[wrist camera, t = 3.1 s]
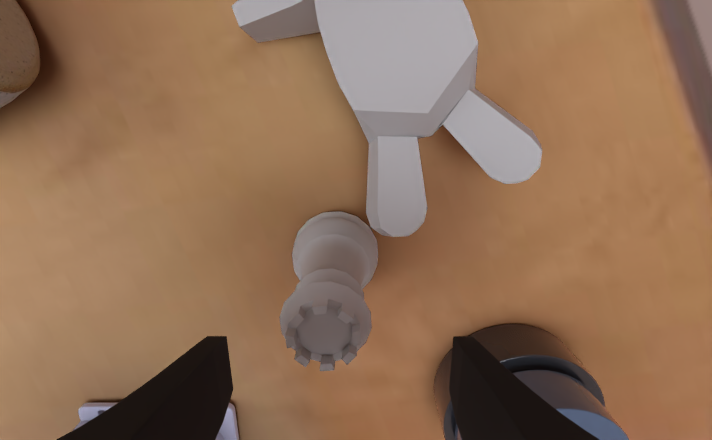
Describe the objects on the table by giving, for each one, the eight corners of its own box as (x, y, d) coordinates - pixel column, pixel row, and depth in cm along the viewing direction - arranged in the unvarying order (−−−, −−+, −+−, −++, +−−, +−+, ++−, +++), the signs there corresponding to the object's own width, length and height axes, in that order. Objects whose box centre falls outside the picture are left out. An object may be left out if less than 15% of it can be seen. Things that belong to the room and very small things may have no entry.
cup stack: (429, 439, 24) (451, 538, 18) (437, 323, 21) (465, 399, 16) (563, 439, 24) (624, 538, 18) (587, 322, 21) (667, 399, 16)
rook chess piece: (291, 281, 20) (252, 387, 13) (298, 203, 19) (258, 270, 11) (371, 290, 21) (380, 400, 13) (383, 213, 19) (401, 287, 12)
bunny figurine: (421, -333, 10) (610, 157, 12) (407, -176, 15) (543, 153, 17) (145, -137, 12) (361, 273, 14) (215, -52, 17) (365, 238, 19)
